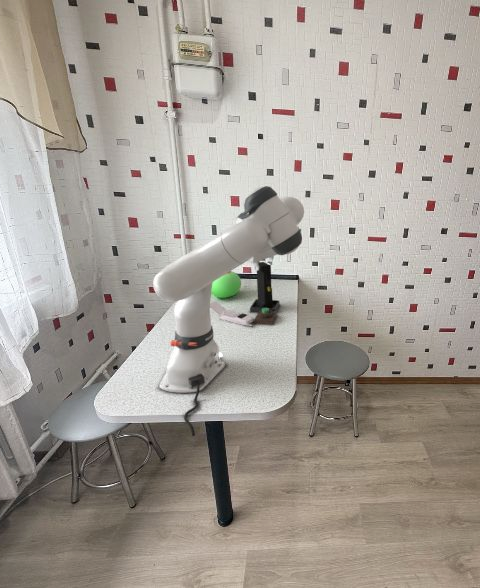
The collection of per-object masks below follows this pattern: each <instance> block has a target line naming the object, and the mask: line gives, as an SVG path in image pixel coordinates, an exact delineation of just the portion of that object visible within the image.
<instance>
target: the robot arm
mask: <svg viewBox="0 0 480 588" xmlns="http://www.w3.org/2000/svg"><path fill="white" fill-rule="evenodd" d="M304 208H305V207H304V206H303V203H302V202H301V201H300V200H299V199H298V198H296V197H294V196H284V197H279V196H278V193H277V192H276V190H275V189H273V188H272V187H271V186H268V185H265V186H259V187H257V188H254V189H253V190H251V191H250V193H249V194H248V195H247V197H246V198H245V200H244V204H243V209H244V211H243V212H240V214H239V215H238V216H236V220H235V224H234V225H231V226H229V227H228V228H226V229H225V230H223V231H222V232H220V233H218V234H217V235H215V236H214V237H212V238H210V239H209V240H208V241H206V242H204V243H203V244H201V245H199V246H197V247H196V248H194V249H193V250H191V251H189V252H188V253H186V254H184V255H182V256H181V257H179V258H178V259H175V260H174V261H173V262H171V263H169V264H168V265H166V266H165V267H163V268H162V269H161V270H160V271H159V272H158V273H156V275H155V276H154V277H153V281H152V288H153V290H154V292H155V294H156V296H158V297H159V298H160V299H161V300H162V301H164V302H167V303H175V305H174V308H173V318H174V326H175V332H174V339H171V340H170V342H169V343H170V344H169V345H170V346H171V347H173V349H172V352H171V354H170V357H169V359H168V363H167V364H166V370H165V374H164V375H163V377H162V379H161V380H160V383H159V388H160V389H162V391H166V392H169V393H170V392H171V393H178V394H180V393H181V394H186V393H187V394H188V393H196V394H195V395H194V399H193V403H194V406H193V407H192V408H190V409H189V410H187V411H186V412H185V413H184V416H183V420H184V422H185V423H186V424H187V426H188V427H189V429H190V431H191V432H190V433H191V436H192V437H195V436H196V433H195V428H194V426H193V424H192V423H191V421H189V419H188V415H189V414H190V413H192V412H193V411H195V410H196V409H197V408H198V406H199V403H198V402H197V400H198V397H199V394H200V391H202V390H203V389H205V387H206V386H208V385H209V384H210V383H211V381H213V379H214V378H215V377H216V376H217V375H218V374H219V373H220V372H221V371H222V370H223V369H224V368H225V366H226V364H225V362H224V361H223V360H221V359H222V357H223V353H221V352H220V348H219V345H218V343H217V342H216V341H215V339H214V337H215V335H214V334H215V333H214V329H213V326H212V320H211V308H210V303H211V297H212V294H211V291H212V284H213V282H214V281H215V280H217V279H218V278H220V277H222V276H223V275H225V274H226V273H228V272H230V271H233V270H235V269H236V268H238V267H240V266H242V265H243V264H245V263H246V262H248V263H250V264H253V267H254V270H255V271H256V272H257V271H258V270H260V266H259V265H258V264H259V261H260V262H262V261H264V260H266V259H268V261H267V264H269V265H271V266H272V265H273V261H274V258H275V256H285V255H289V254H292V253H294V252H295V251H297V250H298V249H299V247H300V246H301V245H302V243H303V235H302V228H299V227H300V226H298V225H299V224H300V223H301V222H302V220H303V218H304V215H305V209H304Z"/></svg>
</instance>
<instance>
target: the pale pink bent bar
mask: <svg viewBox="0 0 480 588" xmlns="http://www.w3.org/2000/svg"><path fill="white" fill-rule="evenodd" d="M210 310H212V311H213V312H214V313H215V314H217V315H218V316H219V318H220V320H223V321H225V322H230V323H234V324H237V325H241V326H247V327H253V326H254V325H253V324H252V323H253V322H254V319H255V317H254V316H253V315H250V314H248V313H243V312H242V313H241V312H237V311H233V310H229V309H226V308H225V307H224V306H223V305H222V304H221V303H219V301H217V300H213V301H210Z"/></svg>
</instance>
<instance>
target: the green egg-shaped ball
mask: <svg viewBox="0 0 480 588" xmlns="http://www.w3.org/2000/svg"><path fill="white" fill-rule="evenodd" d="M241 287H242V280H241V277H240V276H239V275H238V274H237V273H236V272H235V271H233V270H231V271H230V272H228V273H226V274H225V275H223V276H222V277H220V278H218V279H217V280H215V281H214V282H213V284H212V291H211V296H214V297H216V298H220V299H225V298H226V299H227V298H230V297H233V296H235V295H236V294H238V292H239V291H240V289H241Z"/></svg>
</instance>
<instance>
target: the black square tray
mask: <svg viewBox="0 0 480 588" xmlns="http://www.w3.org/2000/svg"><path fill="white" fill-rule="evenodd" d="M257 300H258V298H255V299H254V301H253V302H252V304H251V305H250V307H249V312H250V313H254V314H255V313H256V314H258V312H259V311H260V310H262V308H258V307H257V304H256V301H257ZM279 307H280V300H277V299H273V308H269V310H272V311H276V312H277V311H278V309H279Z"/></svg>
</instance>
